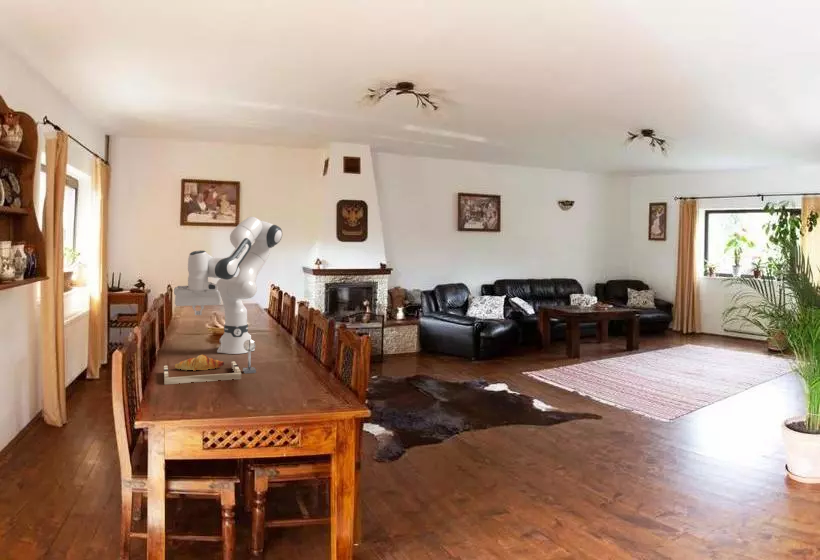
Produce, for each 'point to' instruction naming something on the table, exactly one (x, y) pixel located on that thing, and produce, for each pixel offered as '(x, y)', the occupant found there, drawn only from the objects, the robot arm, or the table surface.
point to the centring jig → (202, 376)
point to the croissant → (199, 363)
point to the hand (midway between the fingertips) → (198, 315)
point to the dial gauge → (249, 356)
